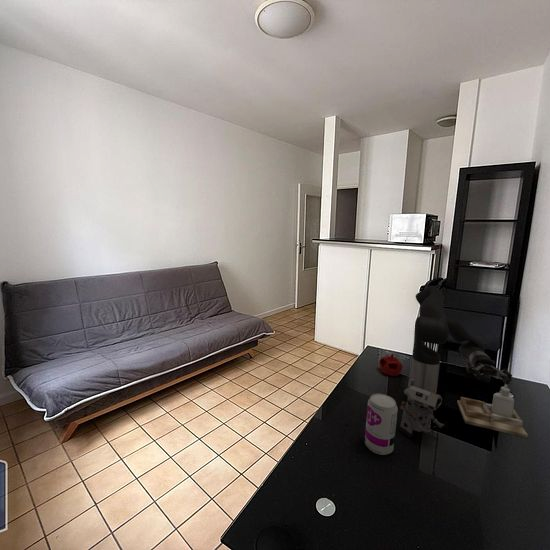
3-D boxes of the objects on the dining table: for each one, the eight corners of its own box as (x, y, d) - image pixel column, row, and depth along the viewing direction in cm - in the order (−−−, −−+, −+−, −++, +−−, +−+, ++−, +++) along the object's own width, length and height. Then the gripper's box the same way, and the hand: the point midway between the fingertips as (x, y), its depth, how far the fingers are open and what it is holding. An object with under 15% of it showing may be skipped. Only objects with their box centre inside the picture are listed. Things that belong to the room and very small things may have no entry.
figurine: (426, 451, 85) (432, 404, 82) (395, 427, 95) (399, 385, 92) (446, 441, 89) (452, 397, 86) (413, 419, 99) (418, 379, 96)
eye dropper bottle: (507, 423, 97) (512, 390, 95) (488, 413, 102) (493, 382, 100) (513, 419, 99) (519, 387, 97) (494, 410, 104) (499, 379, 102)
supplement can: (375, 459, 81) (379, 410, 79) (359, 438, 89) (362, 394, 86) (399, 454, 83) (404, 406, 81) (381, 434, 91) (386, 390, 89)
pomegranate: (385, 366, 139) (387, 347, 137) (405, 374, 131) (407, 354, 130) (374, 371, 132) (376, 352, 131) (395, 380, 125) (397, 360, 123)
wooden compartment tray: (465, 423, 98) (466, 415, 97) (457, 402, 110) (458, 395, 109) (527, 437, 91) (528, 429, 91) (511, 414, 103) (512, 406, 103)
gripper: (463, 351, 126) (473, 366, 111) (502, 357, 121) (518, 374, 106) (461, 367, 127) (470, 384, 112) (500, 374, 122) (515, 393, 107)
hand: (493, 379), depth 109 cm, fingers open, 8 cm apart
